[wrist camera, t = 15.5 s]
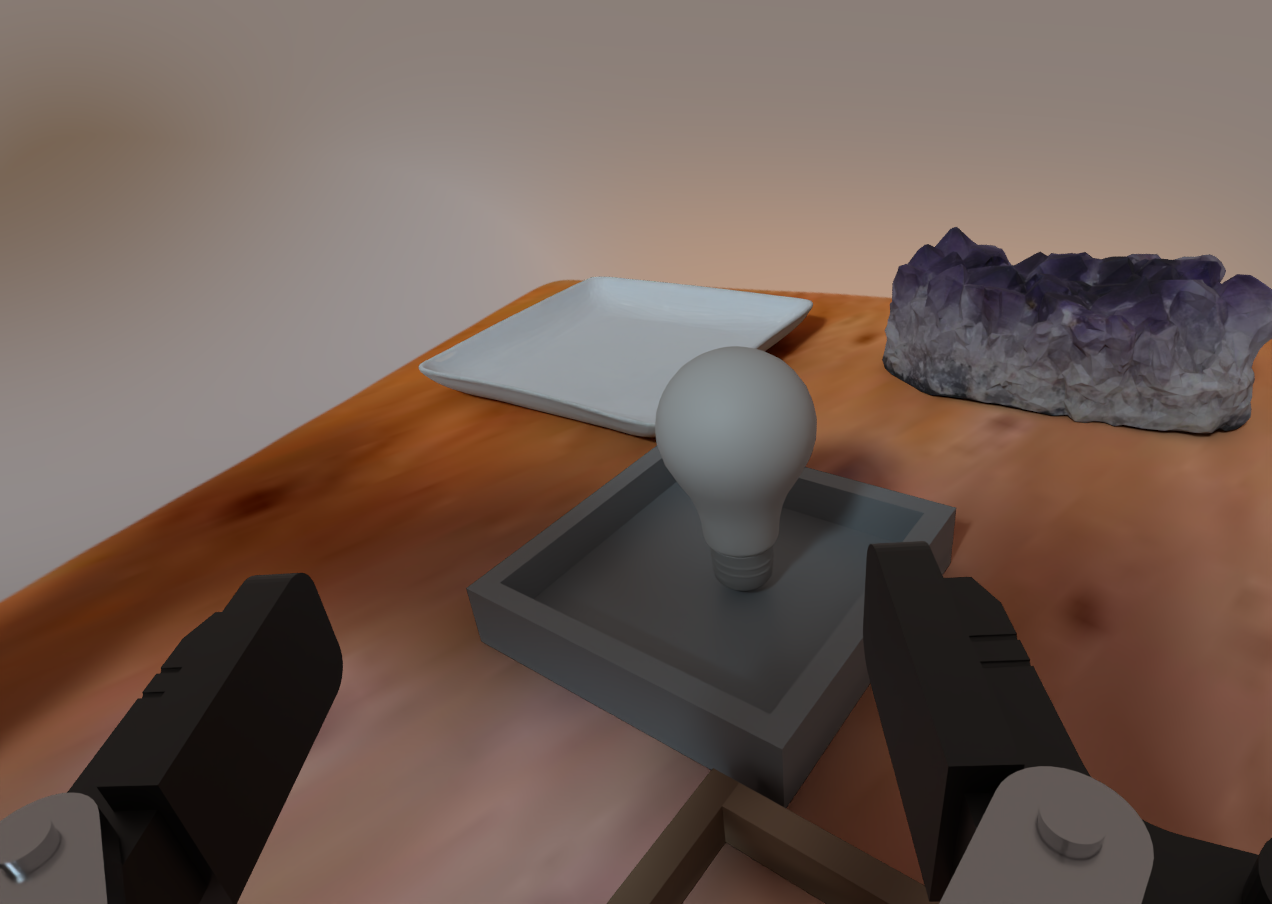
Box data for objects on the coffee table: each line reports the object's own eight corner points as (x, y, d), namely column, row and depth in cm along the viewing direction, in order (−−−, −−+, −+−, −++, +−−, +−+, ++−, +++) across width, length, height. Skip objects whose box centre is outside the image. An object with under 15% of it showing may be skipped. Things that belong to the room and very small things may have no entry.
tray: (481, 641, 35) (466, 588, 33) (680, 478, 45) (675, 431, 43) (784, 810, 26) (782, 749, 25) (950, 562, 36) (956, 507, 34)
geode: (851, 411, 49) (855, 247, 46) (901, 360, 58) (907, 219, 55) (1261, 457, 39) (1310, 248, 35) (1245, 386, 48) (1282, 214, 44)
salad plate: (819, 337, 60) (819, 293, 59) (670, 473, 46) (664, 421, 44) (598, 308, 72) (592, 271, 70) (422, 410, 57) (410, 366, 56)
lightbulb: (744, 523, 38) (733, 308, 33) (846, 583, 34) (853, 347, 28) (645, 584, 35) (613, 360, 30) (743, 658, 31) (727, 412, 25)
